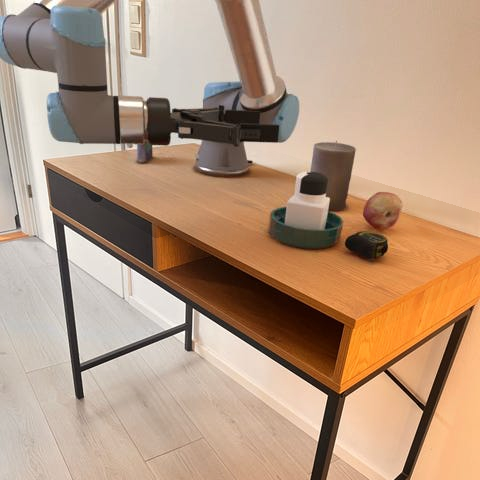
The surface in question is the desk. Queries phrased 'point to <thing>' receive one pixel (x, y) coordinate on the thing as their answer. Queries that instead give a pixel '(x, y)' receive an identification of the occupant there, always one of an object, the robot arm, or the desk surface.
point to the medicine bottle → (308, 202)
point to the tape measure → (367, 244)
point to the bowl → (305, 231)
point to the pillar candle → (334, 170)
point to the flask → (144, 152)
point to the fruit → (382, 210)
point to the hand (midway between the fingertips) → (268, 125)
